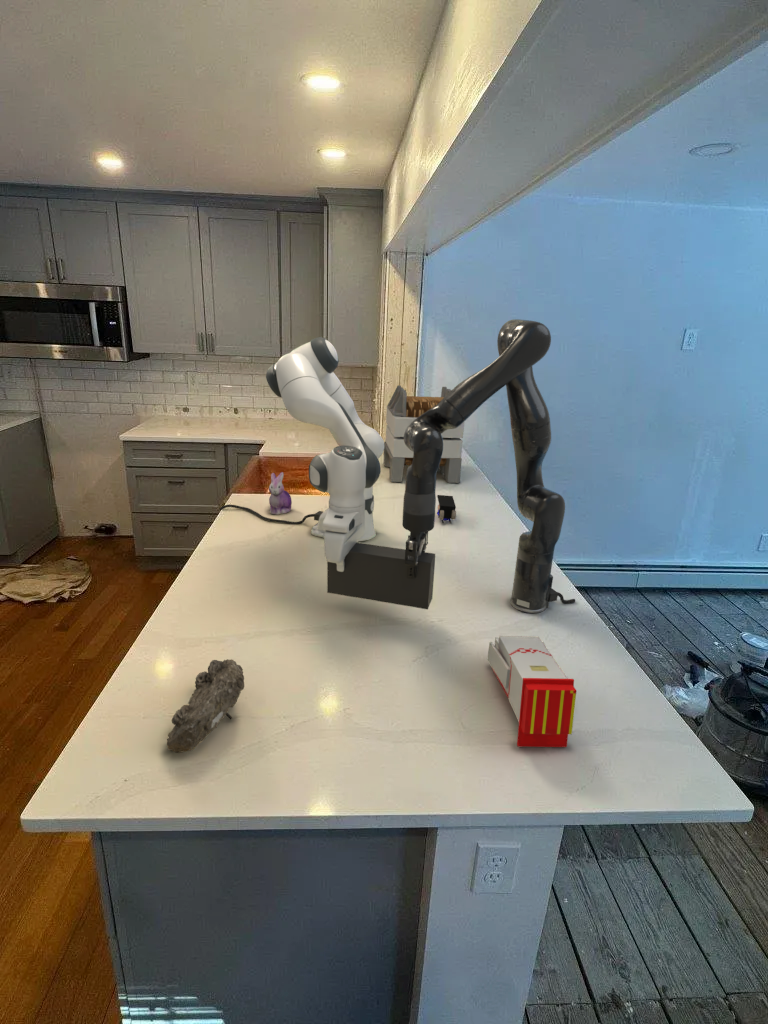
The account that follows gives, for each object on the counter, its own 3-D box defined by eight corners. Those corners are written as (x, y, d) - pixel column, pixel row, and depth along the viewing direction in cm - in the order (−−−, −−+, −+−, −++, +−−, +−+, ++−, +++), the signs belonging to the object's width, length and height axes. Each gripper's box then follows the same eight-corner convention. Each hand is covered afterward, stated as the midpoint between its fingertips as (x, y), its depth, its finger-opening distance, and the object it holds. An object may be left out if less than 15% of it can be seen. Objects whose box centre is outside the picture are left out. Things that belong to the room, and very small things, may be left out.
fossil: (192, 660, 117) (244, 628, 112) (224, 691, 120) (276, 661, 115) (142, 746, 98) (202, 712, 93) (182, 779, 101) (242, 748, 96)
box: (327, 592, 144) (327, 548, 140) (335, 582, 149) (335, 539, 145) (427, 609, 138) (430, 563, 133) (432, 598, 143) (435, 553, 139)
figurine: (272, 516, 210) (271, 477, 205) (264, 508, 219) (263, 470, 213) (296, 513, 214) (296, 475, 209) (287, 505, 223) (287, 468, 218)
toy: (536, 619, 129) (586, 686, 99) (531, 673, 131) (578, 754, 102) (483, 618, 128) (517, 685, 99) (479, 672, 131) (511, 753, 102)
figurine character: (456, 529, 210) (451, 511, 223) (458, 510, 207) (453, 493, 220) (438, 528, 210) (434, 510, 223) (440, 510, 206) (436, 493, 220)
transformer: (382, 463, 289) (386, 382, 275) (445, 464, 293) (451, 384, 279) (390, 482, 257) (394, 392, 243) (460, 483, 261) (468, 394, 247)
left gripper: (348, 498, 149) (347, 547, 153) (319, 525, 130) (319, 579, 135) (371, 501, 147) (369, 550, 152) (345, 529, 128) (344, 583, 133)
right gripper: (428, 520, 125) (424, 586, 131) (440, 501, 138) (436, 561, 144) (395, 516, 127) (393, 581, 133) (410, 497, 140) (407, 557, 146)
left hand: (345, 564), depth 143 cm, fingers closed on box, 6 cm apart
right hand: (415, 571), depth 138 cm, fingers open, 8 cm apart
